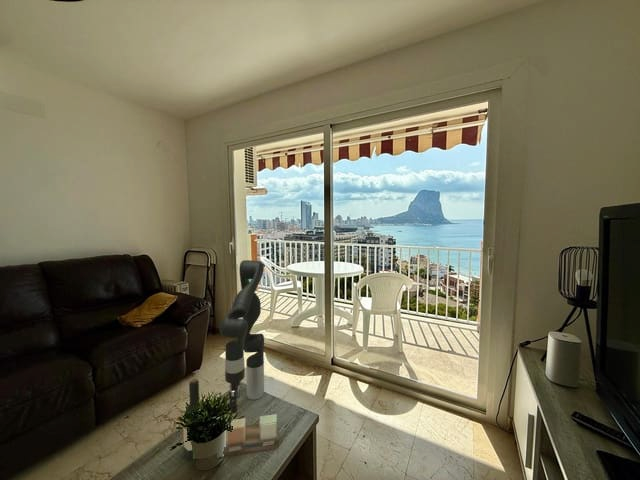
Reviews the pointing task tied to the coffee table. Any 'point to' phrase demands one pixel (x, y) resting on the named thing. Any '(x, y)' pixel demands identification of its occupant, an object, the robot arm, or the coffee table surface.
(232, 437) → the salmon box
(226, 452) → the shelf board
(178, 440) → the coffee table surface
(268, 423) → the sage box
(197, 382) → the wine bottle
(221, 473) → the coffee table surface
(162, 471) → the coffee table surface
